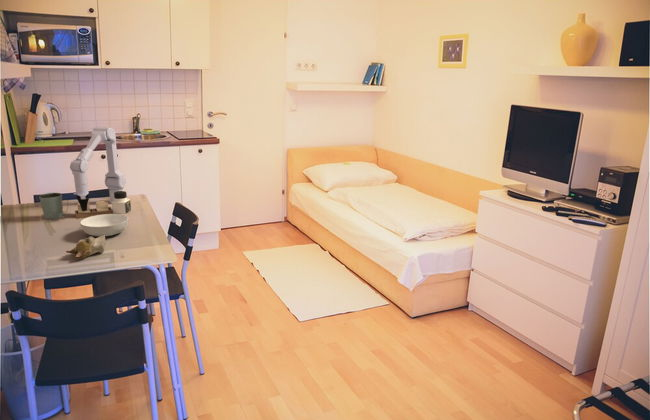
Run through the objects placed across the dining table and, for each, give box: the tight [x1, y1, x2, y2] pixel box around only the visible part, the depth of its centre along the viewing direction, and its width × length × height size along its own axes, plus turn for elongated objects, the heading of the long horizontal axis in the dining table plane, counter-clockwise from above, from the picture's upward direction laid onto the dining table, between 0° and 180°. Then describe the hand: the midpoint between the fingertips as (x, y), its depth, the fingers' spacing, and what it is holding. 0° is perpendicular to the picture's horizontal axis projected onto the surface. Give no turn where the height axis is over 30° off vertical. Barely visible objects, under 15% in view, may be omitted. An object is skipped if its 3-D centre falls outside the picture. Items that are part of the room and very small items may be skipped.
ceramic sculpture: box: [65, 235, 107, 259], centre depth 214 cm, size 11×9×15 cm
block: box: [95, 200, 109, 212], centre depth 268 cm, size 4×6×6 cm
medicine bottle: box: [111, 190, 132, 215], centre depth 271 cm, size 7×7×12 cm
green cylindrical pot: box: [38, 192, 64, 220], centre depth 261 cm, size 10×10×12 cm
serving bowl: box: [79, 213, 130, 237], centre depth 240 cm, size 21×21×7 cm
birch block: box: [76, 201, 91, 214], centre depth 264 cm, size 4×6×6 cm
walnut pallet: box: [74, 206, 113, 220], centre depth 267 cm, size 10×17×3 cm, turn 117°
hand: (84, 209), depth 264 cm, fingers open, 4 cm apart
